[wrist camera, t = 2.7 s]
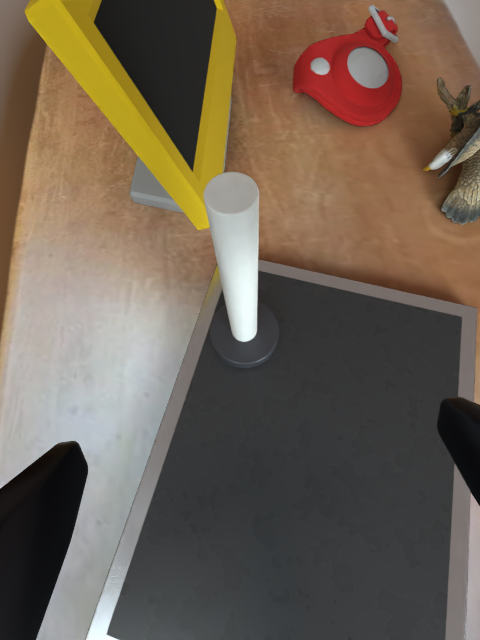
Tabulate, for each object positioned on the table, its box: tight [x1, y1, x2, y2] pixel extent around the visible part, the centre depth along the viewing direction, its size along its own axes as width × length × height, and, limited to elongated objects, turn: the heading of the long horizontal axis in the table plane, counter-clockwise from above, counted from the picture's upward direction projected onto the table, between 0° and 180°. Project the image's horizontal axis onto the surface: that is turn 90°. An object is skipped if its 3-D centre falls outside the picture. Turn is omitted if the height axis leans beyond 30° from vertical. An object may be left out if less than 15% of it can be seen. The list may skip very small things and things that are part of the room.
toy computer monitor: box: [25, 0, 237, 230], centre depth 21 cm, size 20×8×16 cm, turn 176°
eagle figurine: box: [423, 78, 480, 225], centre depth 24 cm, size 8×7×9 cm
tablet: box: [85, 259, 477, 640], centre depth 19 cm, size 24×18×1 cm
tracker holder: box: [293, 5, 402, 126], centre depth 29 cm, size 12×4×10 cm
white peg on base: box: [204, 172, 279, 368], centre depth 15 cm, size 4×4×13 cm
